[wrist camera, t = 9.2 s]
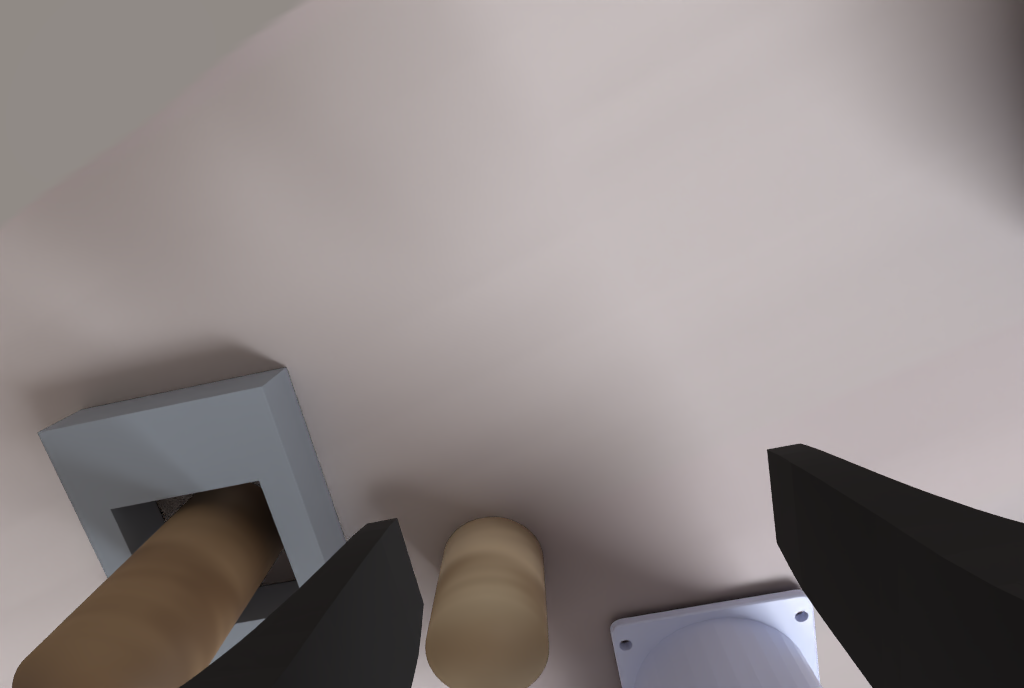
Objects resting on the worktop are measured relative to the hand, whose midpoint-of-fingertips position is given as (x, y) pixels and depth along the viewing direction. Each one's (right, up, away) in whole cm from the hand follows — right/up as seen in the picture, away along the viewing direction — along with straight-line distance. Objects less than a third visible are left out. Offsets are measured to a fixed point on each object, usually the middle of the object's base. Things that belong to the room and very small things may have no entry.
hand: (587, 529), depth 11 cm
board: (-12, -4, +12) cm, 17 cm away
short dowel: (-2, -5, +12) cm, 13 cm away
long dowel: (-12, -4, +12) cm, 17 cm away
